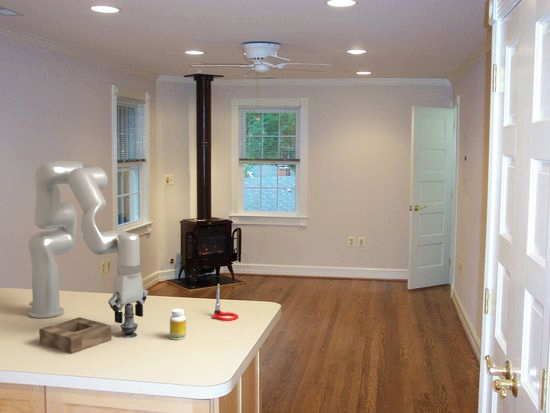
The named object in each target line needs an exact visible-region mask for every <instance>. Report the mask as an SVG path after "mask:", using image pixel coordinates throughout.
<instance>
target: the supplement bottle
mask: <svg viewBox="0 0 550 413" xmlns="http://www.w3.org/2000/svg"><path fill="white" fill-rule="evenodd" d="M184 314H185V310H184V309H182V308H173V309H172V310H171V316H170V318H169V338H170V339H171V340H175V341H179V340H184V339H185V338H186V328H187V325H186V324H187V320H186V319H187V318H186V316H185V315H184Z"/></svg>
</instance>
